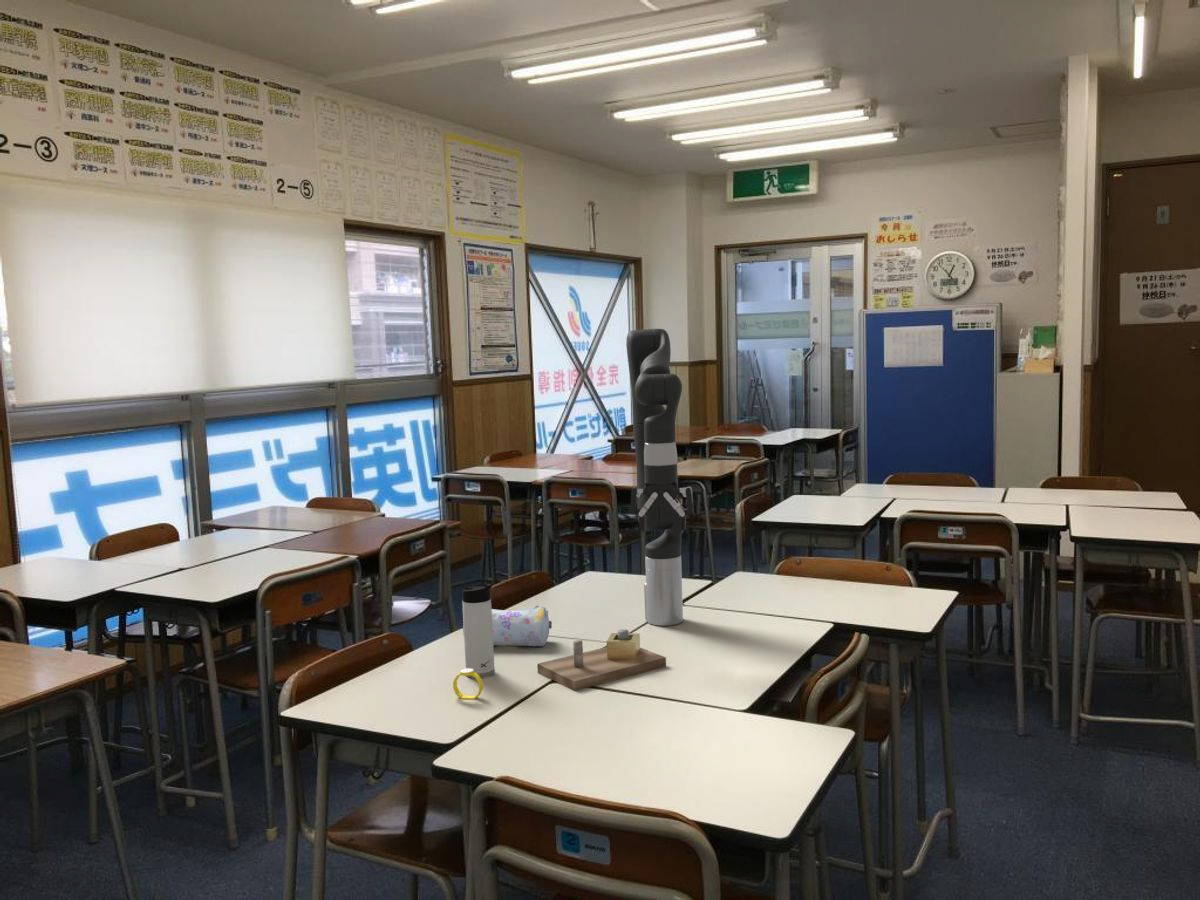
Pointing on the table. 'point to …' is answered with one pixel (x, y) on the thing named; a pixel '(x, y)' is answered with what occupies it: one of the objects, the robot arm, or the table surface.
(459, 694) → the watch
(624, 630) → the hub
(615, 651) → the collar
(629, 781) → the table surface
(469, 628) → the travel mug
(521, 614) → the pencil case
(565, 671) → the workboard
